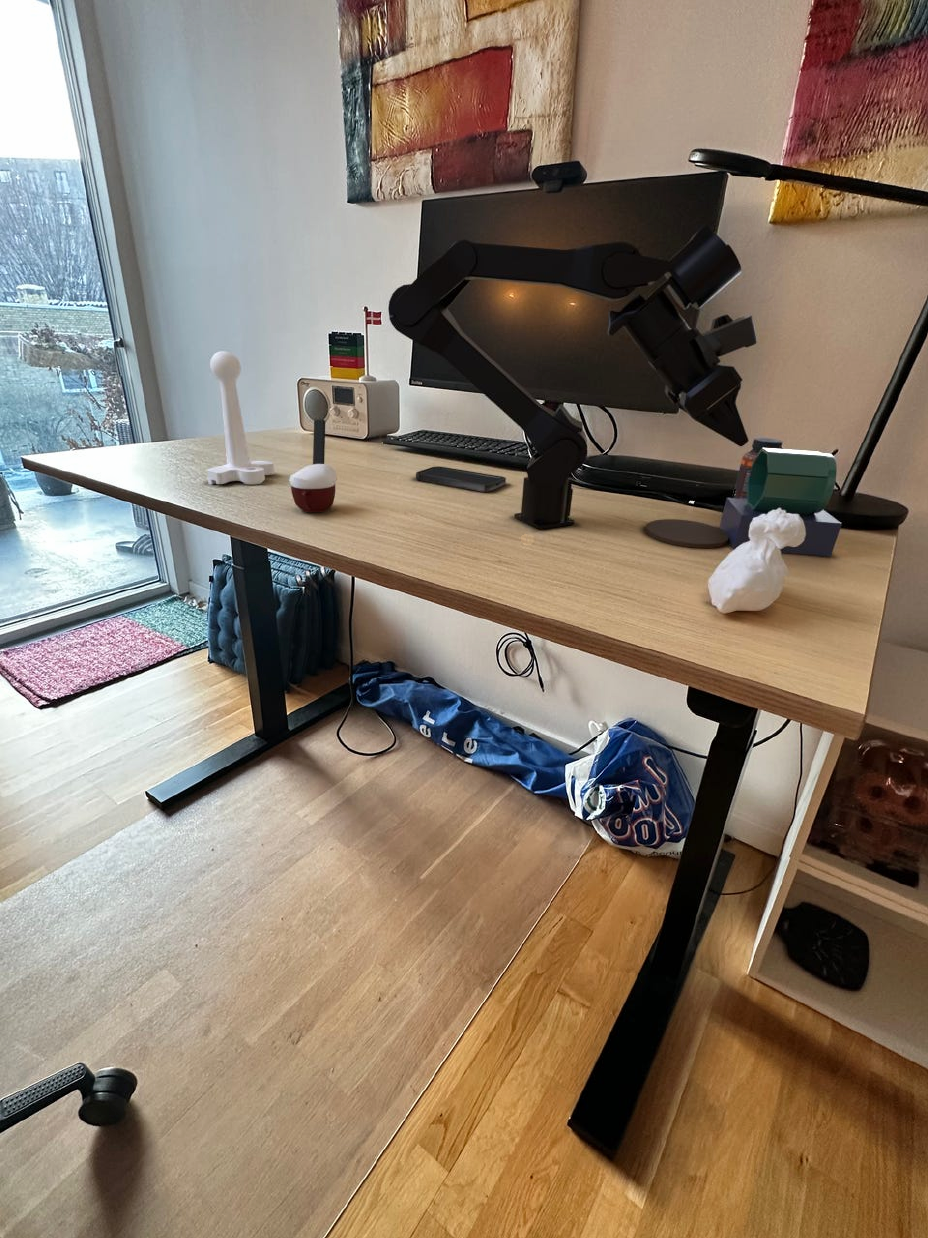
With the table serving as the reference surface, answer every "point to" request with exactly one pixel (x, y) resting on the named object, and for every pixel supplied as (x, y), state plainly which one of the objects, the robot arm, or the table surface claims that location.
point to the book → (817, 526)
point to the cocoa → (315, 477)
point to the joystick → (234, 429)
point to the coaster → (687, 533)
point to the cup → (791, 481)
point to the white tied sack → (756, 564)
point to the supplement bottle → (747, 464)
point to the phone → (461, 478)
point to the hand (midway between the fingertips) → (735, 437)
